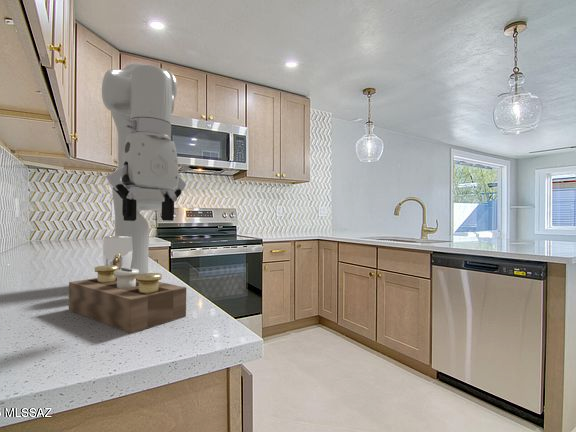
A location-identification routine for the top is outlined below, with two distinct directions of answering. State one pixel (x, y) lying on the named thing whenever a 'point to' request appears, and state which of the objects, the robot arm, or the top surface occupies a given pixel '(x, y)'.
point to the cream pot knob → (126, 277)
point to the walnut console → (127, 304)
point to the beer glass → (118, 251)
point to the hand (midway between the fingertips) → (149, 220)
